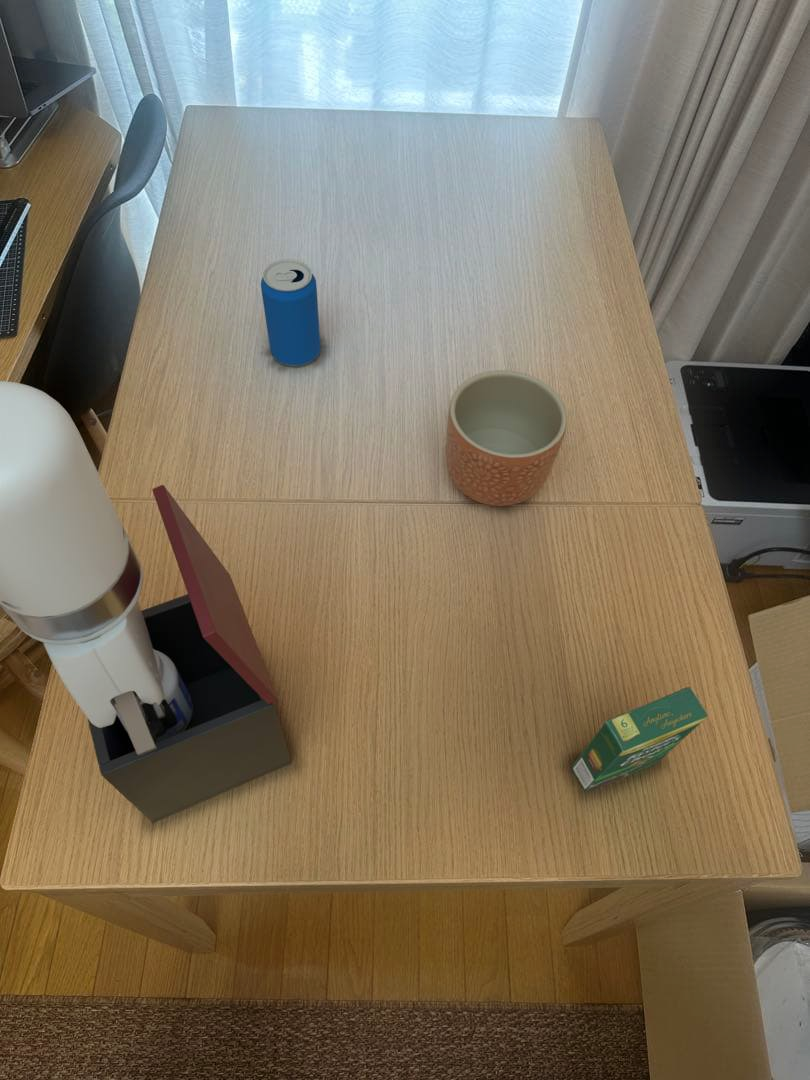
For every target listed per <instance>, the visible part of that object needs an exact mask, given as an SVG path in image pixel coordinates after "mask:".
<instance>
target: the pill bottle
mask: <svg viewBox="0 0 810 1080" xmlns="http://www.w3.org/2000/svg"><path fill="white" fill-rule="evenodd" d="M153 651H154V655H155V659H156V663H157V667H158V671H159V675H160V679H161V683H162V687H163V691H164V698H163V699H165V700H166V701H167V703H168V705H169V706H170V708H171V710H172V711H173V713H174V715H175V716H176V719H177V725H175V726H173V727H171V728H168V729H166V731H167V732H166V733H165V734H164V735H162V736H160V737H158V738H156V741H157V742H158V741H161V740H163V739H166V738H168V737H171V736H173V735H176V734H178V733H181V732H183V731H184V730H185V729H186V727H187V726H188V724H189V722H190V720H191V717H192V713H193V703H192V699H191V696H190V694H189V692H188V690H187V688H186V686H185V684H184V682H183V680H182V678H181V676H180V674H179V672H178V671H177V669H176V667H175V665H174V663H173V662H172V661H171V660H170V658H169V657H167V656H166V655H165V654H163V653H161V652H159V651H156V650H154V649H153ZM140 703H141V705H142V704H144V703H145V702H142V701H141V702H140ZM117 716H118V715H117Z"/></svg>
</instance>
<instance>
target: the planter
mask: <svg viewBox="0 0 810 1080" xmlns="http://www.w3.org/2000/svg"><path fill="white" fill-rule="evenodd" d="M446 421H447V422H446V423H447V424H446V440H445V450H444V453H445V454H444V455H445V465H446V469H447V472H448V475H449V477H450V479H451V480H452V482H453V483H454V485H455V486H456V487H457V489H458V490H460V492H461V493H462V494H464V495H465V496H467V497H468V498H470V499H472V500H473V501H476V502H478V503H481V504H484V505H487V506H493V507H506V506H512V505H517V504H520V503H522V502H524V501H525V502H526V501H527V500H528V499H530V498H531V497H533V496H534V495H535V494H537V493H538V491H540V490H541V488H542V487H543V486H544V485H545V483H546V481H547V480H548V478H549V476H550V474H551V471H552V468H553V466H554V463H555V461H556V458H557V456H558V453H559V451H560V449H561V446H562V445H563V441H564V439H565V435H566V431H567V428H568V427H567V426H568V414H567V409H566V406H565V404H564V402H563V400H562V399H561V397H560V396H559V394H558V393H557V392H556V391H555V390H554V389H553V388H552V387H551V386H550V385H548V384H547V383H545V382H544V381H543V380H541V379H539V378H537V377H535V376H533V375H530V374H527V373H525V372H520V371H515V370H508V369H507V370H500V369H499V370H489V371H485V372H481V373H478V374H475V375H473V376H471V377H470V378H468V379H466V380H465V381H463V382H462V383H461V384H460V385H459V386H458V387H457V389H456V390H455V391H454V393H453V395H452V397H451V400H450V402H449V406H448V412H447V420H446Z"/></svg>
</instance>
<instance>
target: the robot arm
mask: <svg viewBox="0 0 810 1080" xmlns="http://www.w3.org/2000/svg"><path fill="white" fill-rule="evenodd" d="M143 585H144V571H143V565H142V562H141V560H140V558H139V555H138V553H137V551H136V549H135V547H134V544H132V541H131V539H130V537H129V535H128V533H127V531H126V529H125V526H124V524H123V522H122V520H121V518H120V516H119V514H118V511H117V509H116V508H115V505H114V503H113V501H112V499H111V497H110V495H109V493H108V490H107V489H106V486H105V485H104V483H103V480H102V477H101V476H100V474H99V472H98V470H97V467H96V465H95V462H94V461H93V459H92V457H91V454H90V452H89V451H88V449H87V446H86V443H85V442H84V440H83V437H82V435H81V433H80V431H79V430H78V428H77V426H76V424H75V422H74V420H73V419H72V417H71V415H70V413H68V411H67V410H66V409H65V408H64V407H63V406H62V405H61V404H60V402H59V401H57V400H56V399H54V398H53V397H52V396H50V395H49V394H48V393H46V392H44V391H43V390H41V389H39V388H36V387H33V386H30V385H27V384H24V383H19V382H16V381H15V382H14V381H7V380H0V607H1V608H2V609H3V610H4V611H5V613H6V614H7V615H8V616H9V618H11V619H12V621H13V622H14V623H15V625H16V626H17V627H18V628H19V629H20V630H21V631H22V632H23V633H24V634H26V635H27V636H28V637H30V638H31V639H34V640H37V641H39V642H42V643H43V646H44V648H45V651H46V653H47V655H48V657H49V659H50V661H51V663H52V665H53V668H54V669H55V672H56V673H57V675H58V677H59V678H60V680H61V682H62V683H63V685H64V687H65V688H66V690H67V691H68V693H69V694H70V696H71V698H73V700H74V701H75V703H76V704H77V706H78V708H79V709H80V710H81V711H82V713H83V714H84V716H85V717H86V718H88V719H89V721H90V722H91V723H92V724H93V725H95V726H96V727H99V728H102V727H105V726H109V725H112V724H113V723H114V721H115V718H116V715H118V717H119V719H120V721H121V723H122V725H123V726H124V728H125V730H126V731H127V732H128V734H129V738H131V741H132V743H133V746H134V748H135V750H136V753H137V755H138V756H139V755H142V754H144V753H147V752H149V751H152V750H154V749H157V741H156V738H158V737H160V736H162V735H164V734H165V733H166V732H167V731H166V729H168V728H171V727H173V726H175V725H177V719H176V716H175V715H174V713H173V711H172V710H171V708H170V706H169V705H168V703H167V701H166V700H165V699H163V698H164V691H163V687H162V683H161V679H160V675H159V671H158V667H157V663H156V659H155V655H154V651H153V649H154V650H155V647H154V645H153V644H152V642H151V640H150V637H149V633H148V630H147V626H146V623H145V620H144V617H143V614H142V608H141V605H140V603H139V598H140V595H141V594H142V590H143ZM141 701H142V702H145V703H144V704H142V705H141V703H140V702H141ZM88 719H87V720H88Z"/></svg>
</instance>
